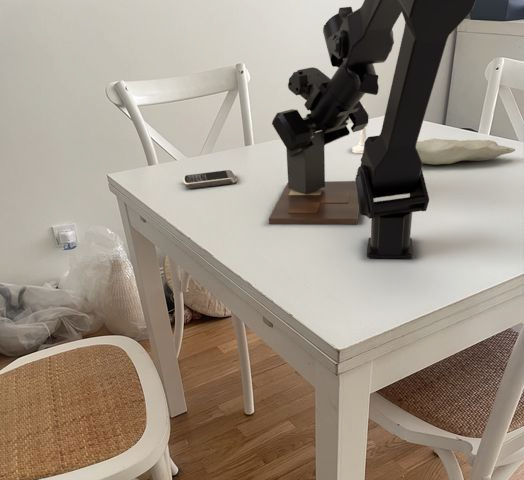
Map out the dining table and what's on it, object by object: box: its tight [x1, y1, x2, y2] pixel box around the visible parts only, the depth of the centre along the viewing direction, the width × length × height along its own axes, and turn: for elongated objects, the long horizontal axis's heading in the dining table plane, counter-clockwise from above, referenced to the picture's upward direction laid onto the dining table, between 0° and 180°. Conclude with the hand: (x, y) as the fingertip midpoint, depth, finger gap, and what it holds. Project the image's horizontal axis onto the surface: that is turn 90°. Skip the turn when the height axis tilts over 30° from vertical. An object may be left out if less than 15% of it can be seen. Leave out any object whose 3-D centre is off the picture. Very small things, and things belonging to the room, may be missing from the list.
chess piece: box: [351, 104, 369, 154], centre depth 124 cm, size 5×5×10 cm
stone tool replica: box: [416, 138, 516, 166], centre depth 113 cm, size 15×5×25 cm
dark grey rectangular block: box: [285, 117, 326, 193], centre depth 100 cm, size 5×5×12 cm
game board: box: [268, 180, 360, 225], centre depth 99 cm, size 20×15×1 cm
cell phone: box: [182, 169, 237, 190], centre depth 115 cm, size 6×11×1 cm, turn 99°
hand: (300, 151), depth 101 cm, fingers closed on dark grey rectangular block, 5 cm apart
